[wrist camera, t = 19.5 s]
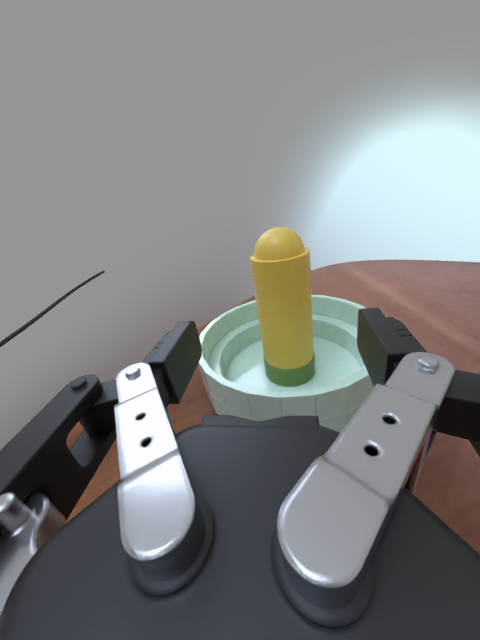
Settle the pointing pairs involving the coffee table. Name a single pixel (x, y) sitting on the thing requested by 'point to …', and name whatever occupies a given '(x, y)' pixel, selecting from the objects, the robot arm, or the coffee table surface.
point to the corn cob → (284, 306)
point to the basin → (278, 401)
